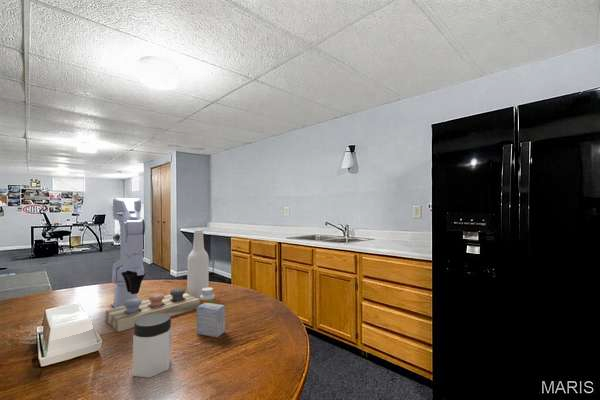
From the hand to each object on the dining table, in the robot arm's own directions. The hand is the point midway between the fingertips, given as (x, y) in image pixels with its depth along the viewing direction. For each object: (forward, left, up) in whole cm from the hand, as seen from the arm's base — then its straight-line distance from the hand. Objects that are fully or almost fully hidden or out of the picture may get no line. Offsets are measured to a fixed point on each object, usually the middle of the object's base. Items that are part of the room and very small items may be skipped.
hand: (133, 292), depth 98 cm
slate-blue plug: (0, 0, -8) cm, 8 cm away
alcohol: (-6, +28, -10) cm, 30 cm away
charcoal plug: (0, +16, -8) cm, 18 cm away
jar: (+35, -7, -10) cm, 37 cm away
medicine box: (+29, +13, -10) cm, 33 cm away
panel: (-1, +8, -10) cm, 13 cm away
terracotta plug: (0, +8, -8) cm, 11 cm away
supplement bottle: (+15, +20, -10) cm, 27 cm away
